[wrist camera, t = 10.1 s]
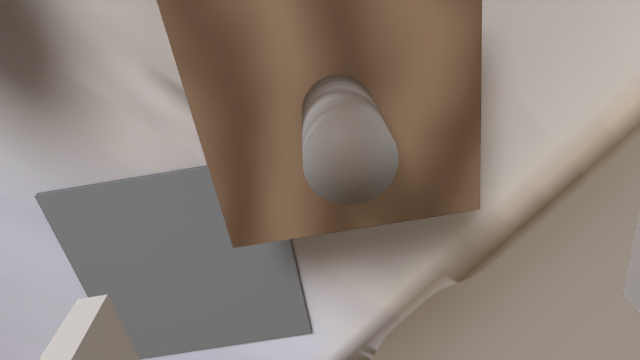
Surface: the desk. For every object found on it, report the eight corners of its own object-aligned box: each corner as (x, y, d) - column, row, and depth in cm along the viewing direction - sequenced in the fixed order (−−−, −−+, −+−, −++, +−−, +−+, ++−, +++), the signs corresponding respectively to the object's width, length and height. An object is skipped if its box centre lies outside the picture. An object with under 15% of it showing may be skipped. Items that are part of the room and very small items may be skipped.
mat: (123, 357, 44) (122, 361, 43) (38, 193, 35) (34, 196, 35) (311, 329, 43) (311, 333, 43) (271, 154, 34) (270, 157, 34)
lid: (235, 237, 29) (214, 330, 22) (157, -21, 22) (87, -10, 15) (473, 200, 29) (532, 282, 22) (473, -78, 22) (562, -96, 14)
